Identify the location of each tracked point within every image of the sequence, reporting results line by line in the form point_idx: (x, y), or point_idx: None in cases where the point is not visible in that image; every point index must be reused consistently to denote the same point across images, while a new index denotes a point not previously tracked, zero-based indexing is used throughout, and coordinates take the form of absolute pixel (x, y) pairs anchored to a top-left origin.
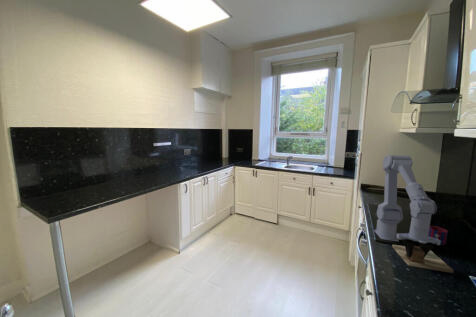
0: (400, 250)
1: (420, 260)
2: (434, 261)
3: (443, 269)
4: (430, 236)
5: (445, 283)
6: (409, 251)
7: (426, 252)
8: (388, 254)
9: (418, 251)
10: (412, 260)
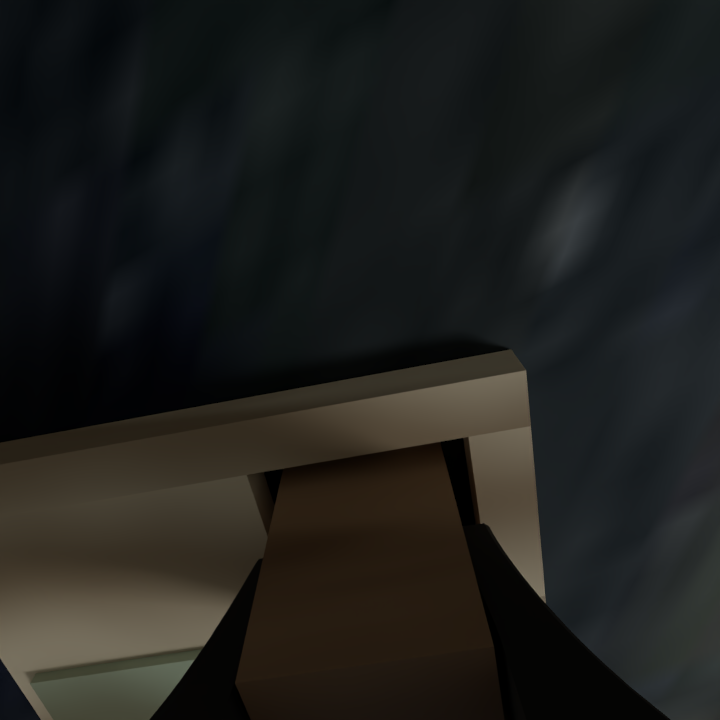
0: None
1: (316, 506)
2: (107, 598)
3: (21, 452)
4: None
5: (58, 58)
6: (542, 607)
7: (196, 693)
8: (697, 529)
9: (371, 659)
10: (435, 470)
